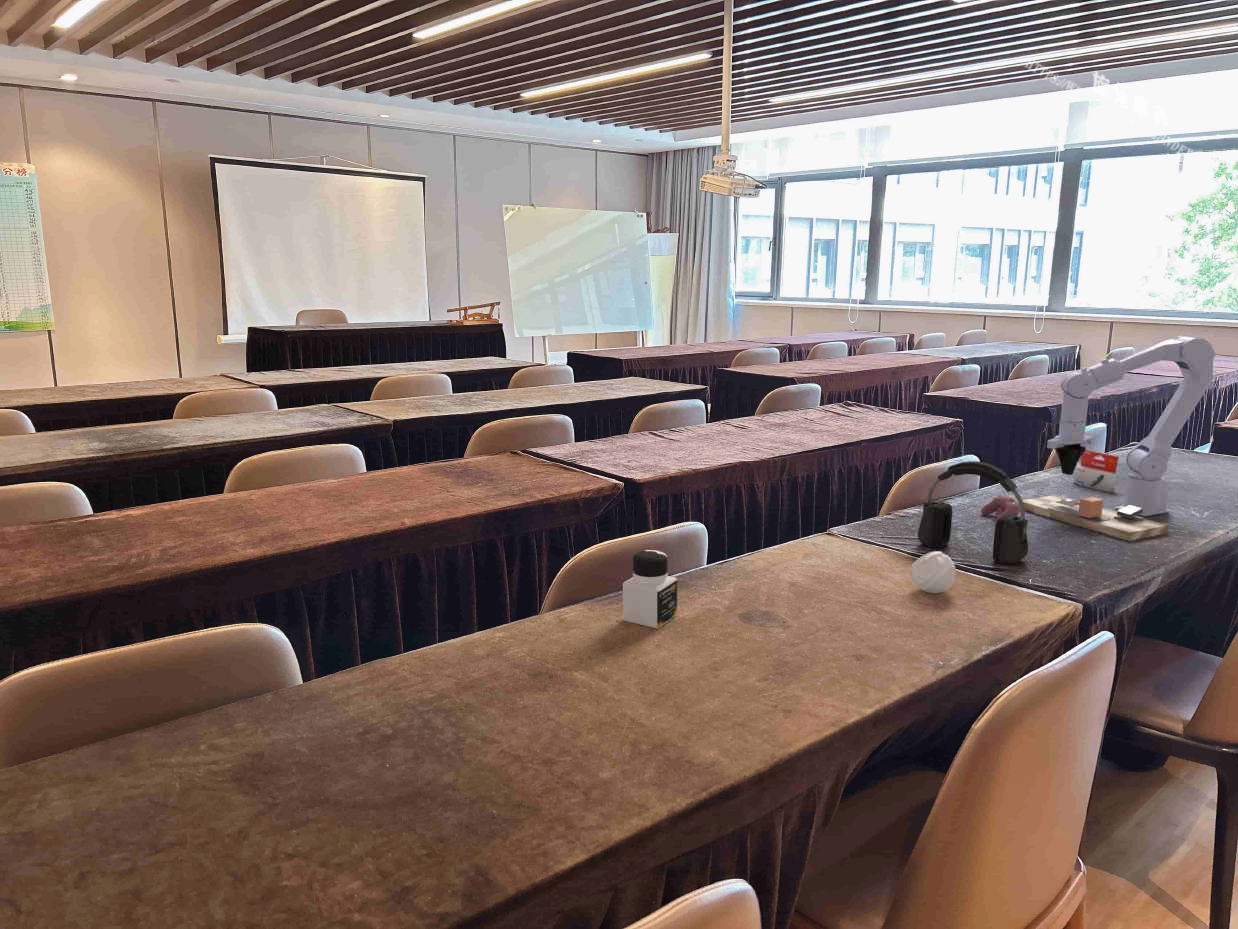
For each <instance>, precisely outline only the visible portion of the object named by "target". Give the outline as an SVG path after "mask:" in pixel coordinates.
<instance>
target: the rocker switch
mask: <svg viewBox="0 0 1238 929" xmlns="http://www.w3.org/2000/svg"><path fill="white" fill-rule="evenodd" d="M1116 511H1117V515H1118V516H1122V517H1126V518H1129V519H1130V518H1133V517H1135V516H1140V515H1139V514H1141V513H1143V508H1139V507H1135V506H1131V505H1129V506H1127V507H1125V508H1122V509H1120V510H1118V509H1117V510H1116Z"/></svg>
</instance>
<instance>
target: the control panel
mask: <svg viewBox="0 0 1238 929" xmlns="http://www.w3.org/2000/svg"><path fill="white" fill-rule="evenodd" d="M1062 498H1065V497H1063V496H1059V495H1056V494H1053V495H1047V496H1042V497H1041V496H1040V497H1035V498H1029V499H1022V501H1023V503H1024V508H1025V510H1026V511H1025V512H1029V511H1030V512H1029V513H1032V512H1033V513H1032V514H1037V515H1039V514H1040V515H1039V516H1042V515H1044V516H1043V517H1046V516H1047V518H1049V517H1050V518H1049V519H1053V518H1054V519H1053V520H1056V519H1057V520H1056V521H1059V520H1060V522H1063V523H1066V522H1067V523H1066V524H1069V523H1070V524H1071V525H1074V526H1077V527H1080V526H1081V527H1080V528H1083V529H1086V528H1087V530H1090V531H1093V530H1094V532H1097V533H1100V532H1101V533H1100V534H1105V535H1108V536H1110V537H1114V538H1117V539H1120V538H1121V539H1122V540H1124V541H1127V540H1128V542H1131V540H1132V541H1136V539H1137V540H1140V539H1139V538H1142V539H1146V538H1145V537H1147V538H1150V536H1152V537H1156V536H1155V535H1158V536H1161V535H1160V534H1163V535H1166V534H1167V535H1168V530H1169V525H1168V524H1165V523H1161V522H1158V521H1154V520H1149V519H1146V518H1145V517H1144V516H1140V515H1137V516H1135V517H1133V518H1130V519H1129V518H1126V517H1122V516H1118V515H1117V511H1118V510H1113V509H1110V508H1105V507H1102V515H1101V516H1099V517H1093V518H1087V517H1084V516H1080V515H1078V512H1079V503H1080V500H1078V505H1077V506H1067V505H1064V504H1060V503H1061V499H1062ZM1017 503H1018V502H1017ZM1018 505H1019V503H1018ZM1070 524H1069V525H1070Z"/></svg>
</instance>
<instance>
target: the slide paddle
mask: <svg viewBox="0 0 1238 929" xmlns="http://www.w3.org/2000/svg"><path fill="white" fill-rule="evenodd" d="M1079 502H1080V503H1079V512H1078V515H1080V516H1084V517H1087V518H1093V517H1099V516H1101V515H1102V508H1104V507H1103V506H1104V499H1103V498H1099V497H1095V496H1094V497H1093V496H1090V497H1089V496H1088V497H1081V498H1079Z"/></svg>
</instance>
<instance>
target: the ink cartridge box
mask: <svg viewBox="0 0 1238 929" xmlns="http://www.w3.org/2000/svg"><path fill="white" fill-rule="evenodd" d="M1098 456H1100V457H1101V458H1103V459H1104V460H1102V459H1097V458H1095V457H1098ZM1119 458H1120V457H1119V456H1116V455H1112V454H1106V453H1101V452H1097V451H1092V450H1087V449H1086V450H1085V452H1084V453H1083V454H1082V456H1081V457H1080V465H1076V467H1075V469H1074V472H1073V473H1074V474H1073V484H1074V483H1075V484H1074V485H1078V484H1079V485H1080V486H1082V485H1083V487H1087V488H1091V487H1092V488H1091V489H1096V490H1099V491H1104V492H1107V491H1108V492H1107V493H1110V491H1111V492H1114V491H1115V488H1116V479H1117V478H1116V477H1117V467H1118V463H1119V462H1118V461H1119Z"/></svg>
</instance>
